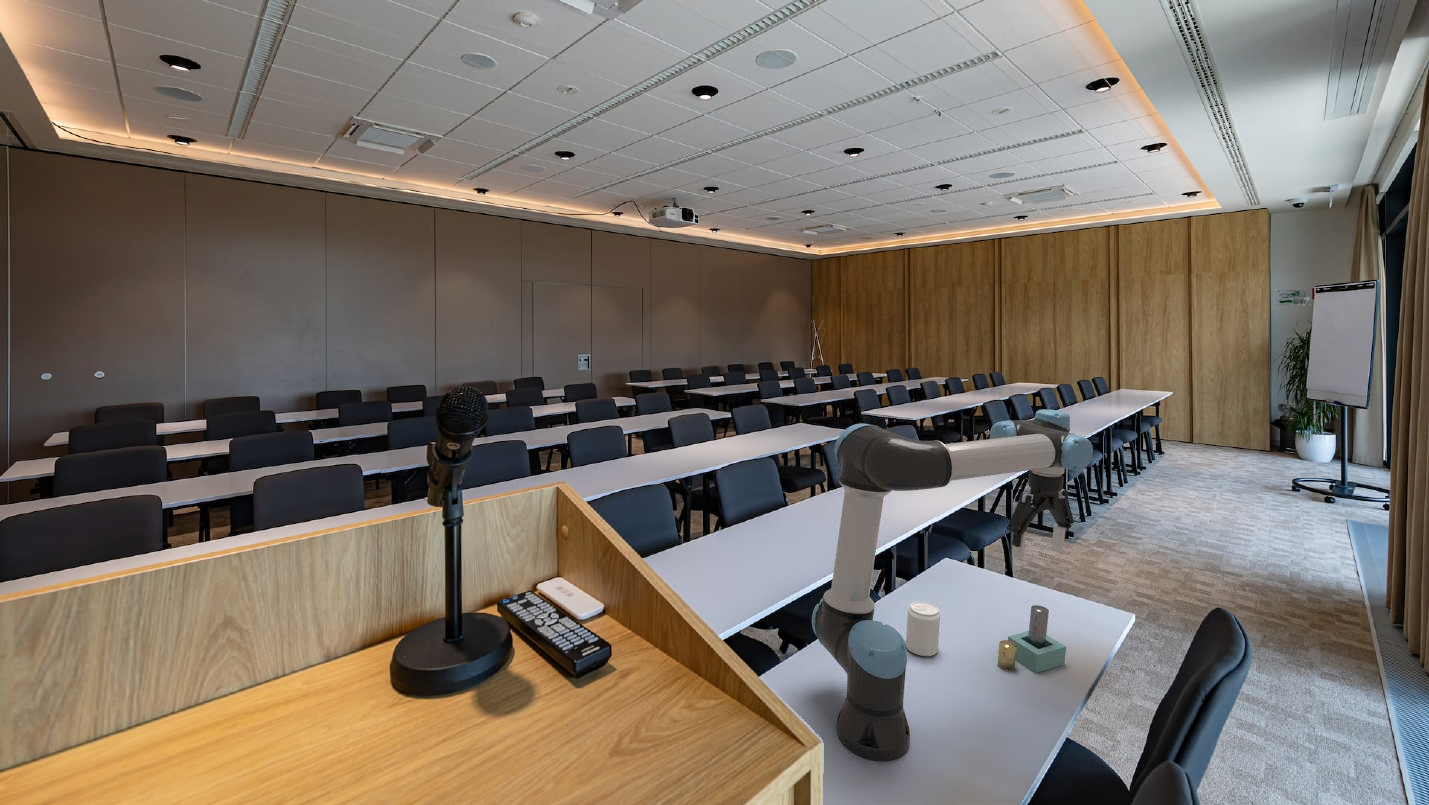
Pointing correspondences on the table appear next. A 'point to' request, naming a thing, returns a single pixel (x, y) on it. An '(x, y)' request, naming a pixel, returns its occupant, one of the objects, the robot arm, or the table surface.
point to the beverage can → (922, 628)
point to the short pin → (1007, 655)
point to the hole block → (1038, 653)
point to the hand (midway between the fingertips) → (1037, 554)
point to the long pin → (1038, 626)
